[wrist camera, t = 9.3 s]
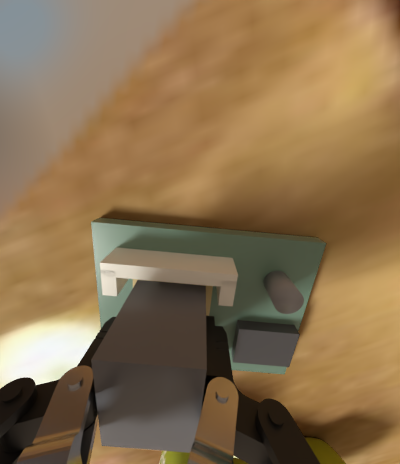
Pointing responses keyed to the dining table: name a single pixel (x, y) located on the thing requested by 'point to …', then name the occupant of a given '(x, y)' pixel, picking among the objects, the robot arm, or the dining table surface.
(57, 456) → the robot arm
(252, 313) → the board
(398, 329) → the dining table surface
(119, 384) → the plug
